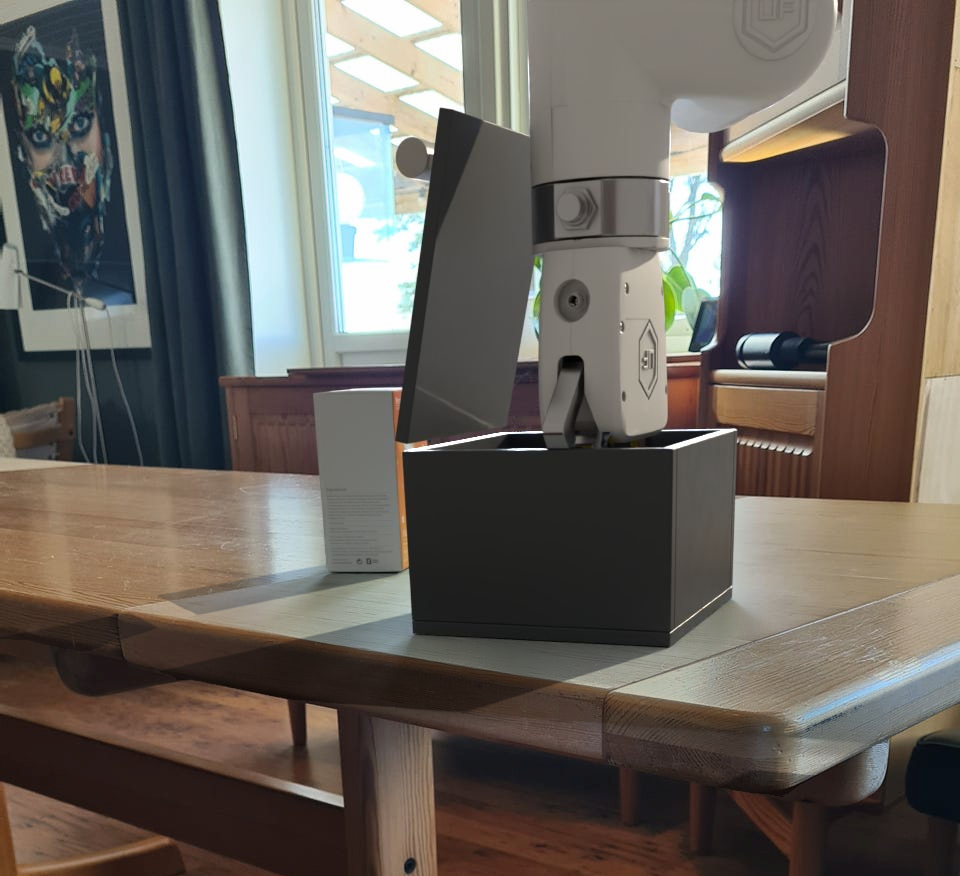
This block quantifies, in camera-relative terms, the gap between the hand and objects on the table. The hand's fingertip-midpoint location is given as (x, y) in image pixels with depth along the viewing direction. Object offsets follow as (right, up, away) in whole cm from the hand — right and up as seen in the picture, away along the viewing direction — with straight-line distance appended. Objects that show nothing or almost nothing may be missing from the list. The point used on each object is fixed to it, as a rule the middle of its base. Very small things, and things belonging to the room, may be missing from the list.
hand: (601, 552), depth 77 cm
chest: (-1, -3, +2) cm, 4 cm away
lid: (-7, +15, -3) cm, 16 cm away
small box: (-15, +5, +24) cm, 29 cm away
